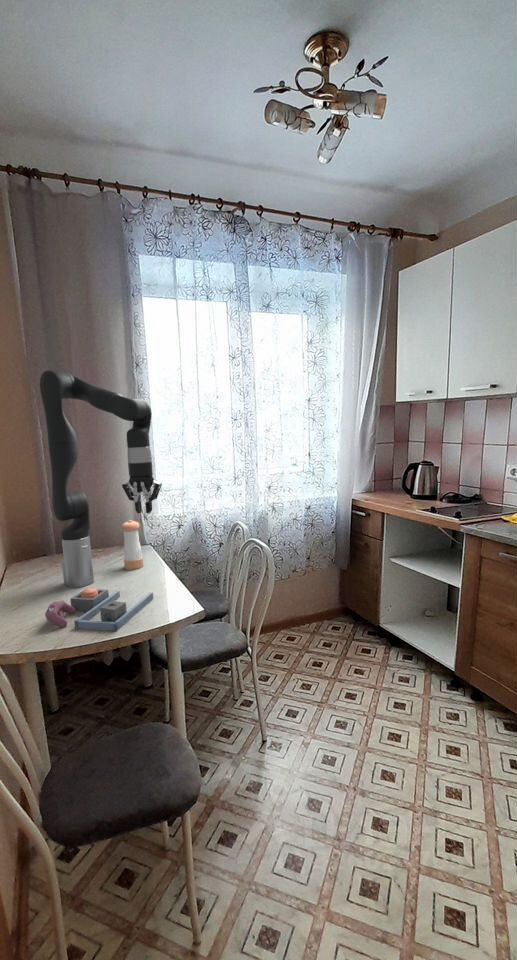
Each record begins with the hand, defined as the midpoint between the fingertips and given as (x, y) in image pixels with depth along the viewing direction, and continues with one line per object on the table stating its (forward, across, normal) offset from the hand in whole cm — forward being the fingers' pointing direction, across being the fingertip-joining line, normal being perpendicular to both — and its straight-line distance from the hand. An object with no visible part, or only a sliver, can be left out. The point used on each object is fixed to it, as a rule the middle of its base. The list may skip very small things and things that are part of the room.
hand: (144, 512), depth 143 cm
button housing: (+27, -14, -14) cm, 33 cm away
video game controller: (+27, -16, -24) cm, 40 cm away
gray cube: (+27, 0, -23) cm, 36 cm away
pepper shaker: (+27, -19, +23) cm, 40 cm away
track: (+27, -2, -17) cm, 32 cm away
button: (+26, -14, -14) cm, 32 cm away
